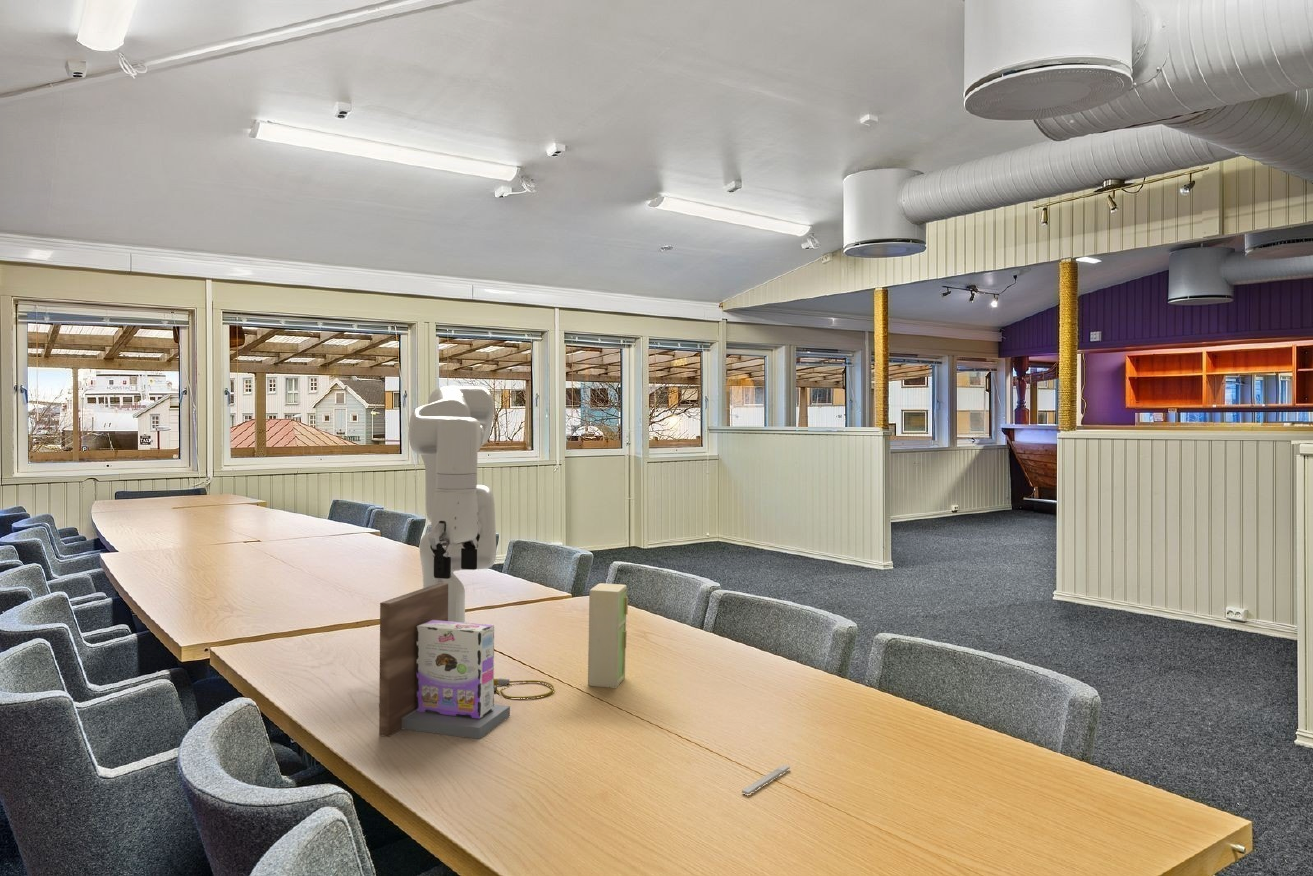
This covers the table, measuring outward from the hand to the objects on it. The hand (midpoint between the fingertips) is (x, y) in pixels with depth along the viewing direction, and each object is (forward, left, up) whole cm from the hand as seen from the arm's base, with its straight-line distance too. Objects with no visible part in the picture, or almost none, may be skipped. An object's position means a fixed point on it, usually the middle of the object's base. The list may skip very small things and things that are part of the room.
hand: (456, 573), depth 152 cm
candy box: (0, 0, -26) cm, 26 cm away
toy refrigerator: (+20, +32, -28) cm, 47 cm away
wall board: (-8, 0, -28) cm, 29 cm away
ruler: (+60, -8, -29) cm, 67 cm away
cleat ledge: (+1, 0, -28) cm, 28 cm away
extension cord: (+3, +21, -29) cm, 36 cm away
